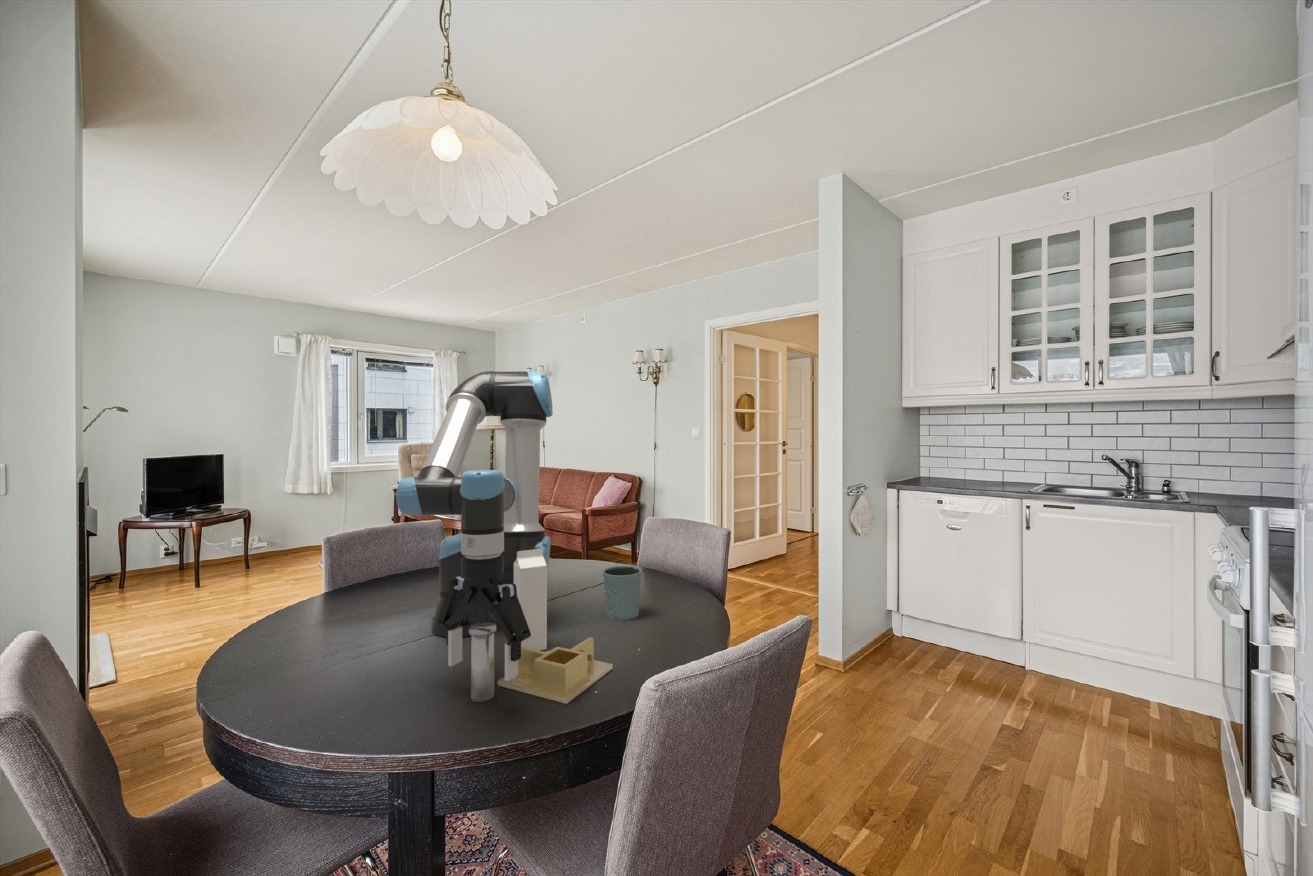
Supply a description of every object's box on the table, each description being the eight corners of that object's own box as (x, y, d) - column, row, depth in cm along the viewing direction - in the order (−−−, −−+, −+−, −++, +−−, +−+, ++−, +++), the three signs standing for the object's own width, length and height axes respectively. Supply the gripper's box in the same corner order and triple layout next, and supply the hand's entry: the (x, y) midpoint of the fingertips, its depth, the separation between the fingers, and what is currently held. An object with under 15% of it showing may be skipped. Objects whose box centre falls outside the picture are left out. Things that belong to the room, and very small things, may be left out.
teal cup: (648, 613, 145) (648, 569, 145) (626, 624, 136) (626, 577, 136) (618, 606, 150) (618, 564, 150) (595, 617, 142) (595, 571, 142)
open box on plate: (566, 704, 96) (566, 670, 96) (497, 685, 103) (497, 654, 103) (612, 669, 110) (612, 639, 110) (549, 654, 117) (549, 627, 117)
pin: (463, 699, 98) (463, 629, 97) (482, 688, 102) (482, 620, 102) (483, 705, 95) (483, 633, 95) (501, 693, 100) (501, 624, 100)
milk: (546, 649, 120) (547, 551, 120) (519, 655, 117) (520, 554, 117) (538, 640, 126) (539, 546, 125) (512, 645, 123) (513, 548, 122)
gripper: (417, 552, 101) (417, 665, 101) (522, 566, 90) (522, 693, 90) (449, 544, 107) (448, 650, 107) (550, 557, 96) (550, 675, 97)
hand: (482, 670), depth 99 cm, fingers open, 13 cm apart
